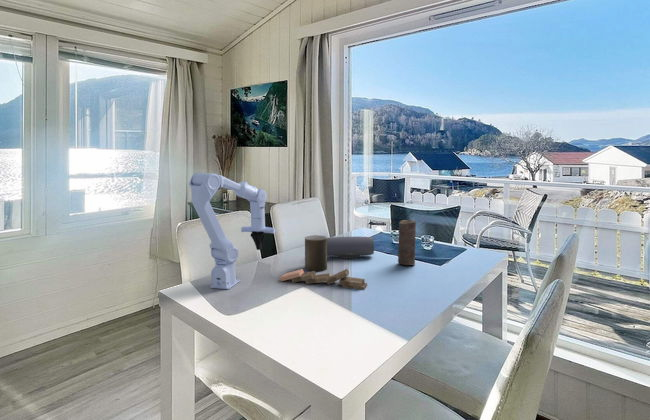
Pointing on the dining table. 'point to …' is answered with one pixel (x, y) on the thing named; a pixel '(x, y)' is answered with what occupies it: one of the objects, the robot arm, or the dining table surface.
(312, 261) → the pillar candle
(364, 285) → the domino
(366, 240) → the bluetooth speaker
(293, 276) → the domino
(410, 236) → the brown wooden cylinder
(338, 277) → the domino
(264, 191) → the robot arm
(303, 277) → the domino
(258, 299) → the dining table surface
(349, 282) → the domino
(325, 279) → the domino
